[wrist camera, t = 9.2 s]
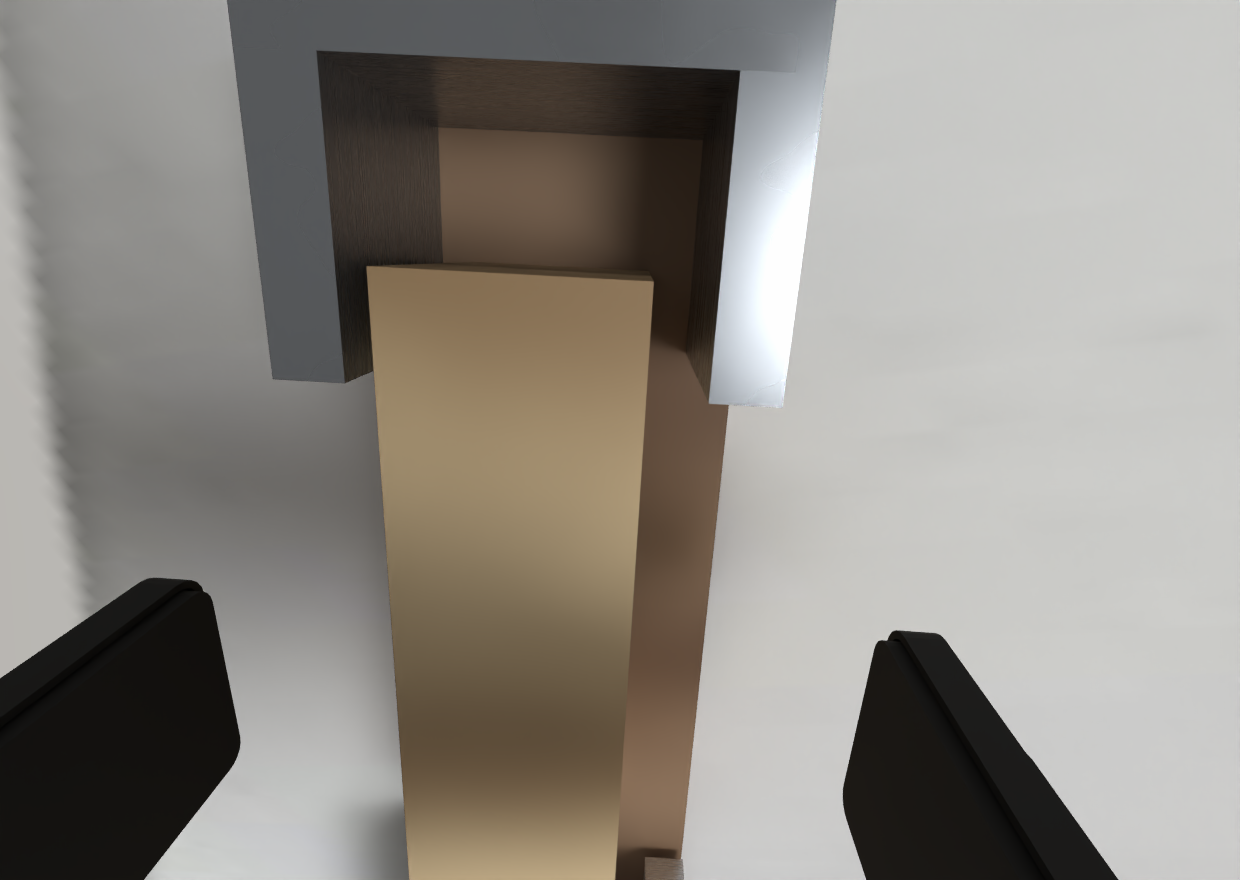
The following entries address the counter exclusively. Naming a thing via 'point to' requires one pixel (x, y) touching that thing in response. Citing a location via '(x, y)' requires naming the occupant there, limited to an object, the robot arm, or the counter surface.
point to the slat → (511, 555)
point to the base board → (674, 417)
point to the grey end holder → (533, 102)
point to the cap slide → (663, 869)
